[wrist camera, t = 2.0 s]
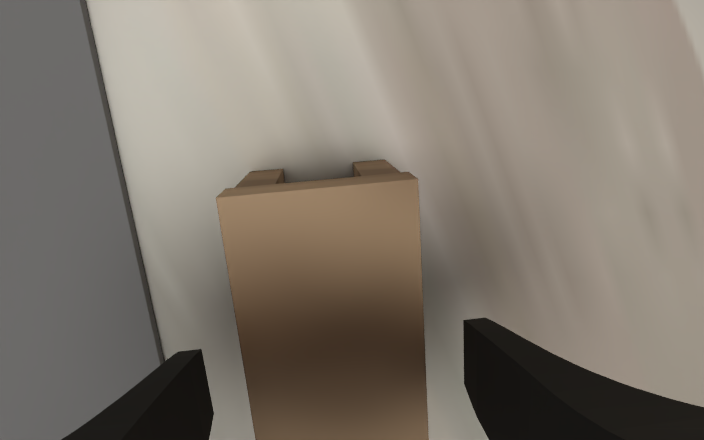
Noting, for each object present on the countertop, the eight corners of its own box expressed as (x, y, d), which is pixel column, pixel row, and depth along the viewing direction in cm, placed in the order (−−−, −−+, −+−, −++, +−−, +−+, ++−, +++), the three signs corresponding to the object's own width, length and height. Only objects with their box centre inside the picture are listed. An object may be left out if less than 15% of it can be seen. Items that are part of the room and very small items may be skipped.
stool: (398, 385, 19) (430, 497, 14) (282, 399, 19) (268, 519, 13) (384, 154, 16) (417, 179, 11) (249, 166, 16) (215, 197, 11)
